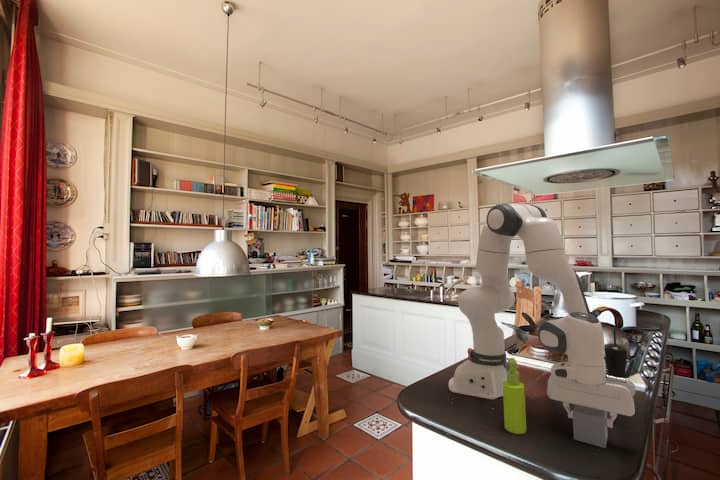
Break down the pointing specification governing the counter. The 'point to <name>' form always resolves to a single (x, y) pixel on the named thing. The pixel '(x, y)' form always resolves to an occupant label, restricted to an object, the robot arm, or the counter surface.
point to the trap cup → (590, 425)
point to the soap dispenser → (514, 401)
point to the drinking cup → (616, 358)
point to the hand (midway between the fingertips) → (589, 422)
